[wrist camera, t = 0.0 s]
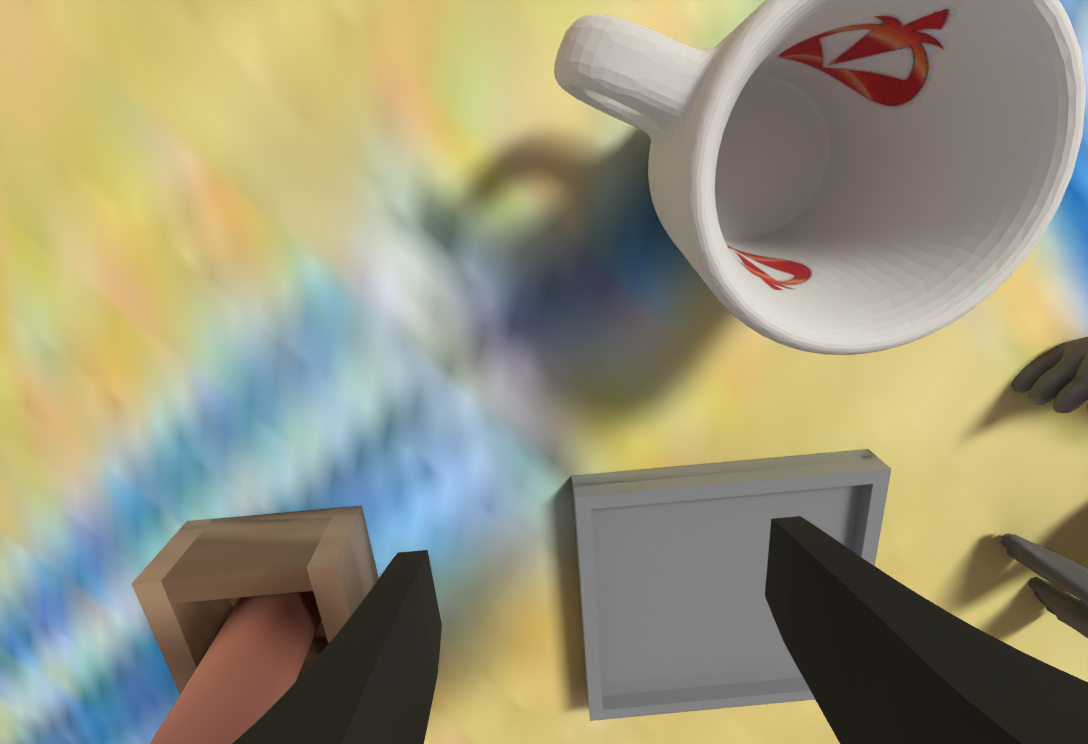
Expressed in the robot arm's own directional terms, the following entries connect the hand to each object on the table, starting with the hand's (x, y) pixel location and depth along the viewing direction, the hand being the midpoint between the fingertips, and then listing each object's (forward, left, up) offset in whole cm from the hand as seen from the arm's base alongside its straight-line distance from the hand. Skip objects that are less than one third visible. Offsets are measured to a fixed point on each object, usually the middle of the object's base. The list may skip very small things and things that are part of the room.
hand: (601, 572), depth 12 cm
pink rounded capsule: (-8, +12, -10) cm, 17 cm away
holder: (-8, +12, -10) cm, 18 cm away
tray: (-10, -6, -10) cm, 15 cm away
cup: (+8, -5, -10) cm, 14 cm away
